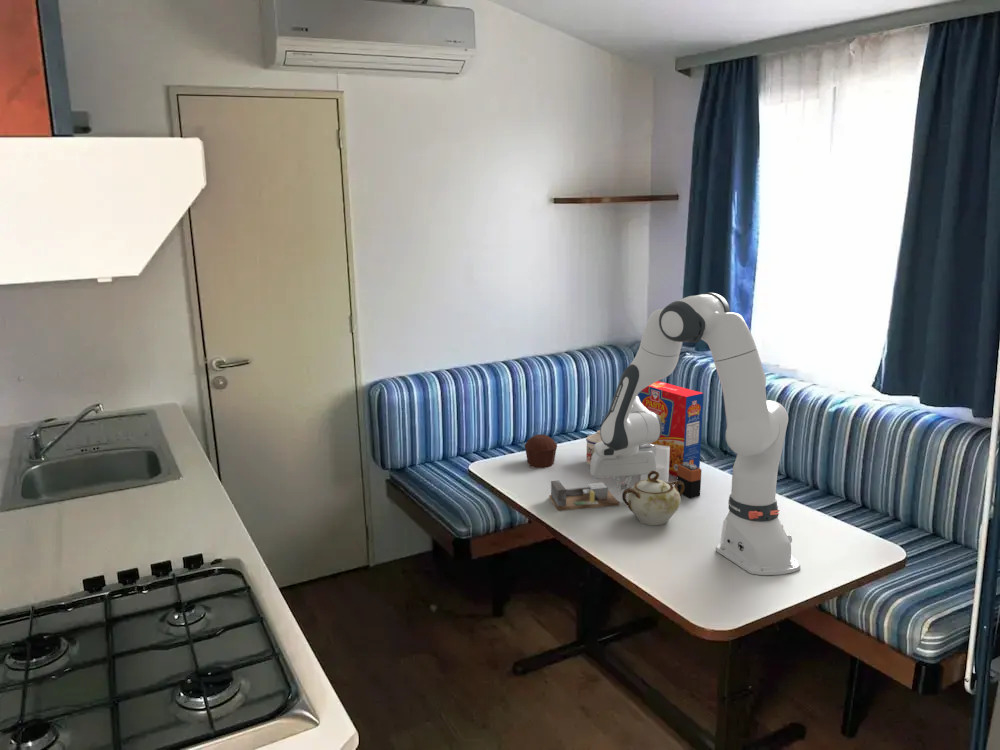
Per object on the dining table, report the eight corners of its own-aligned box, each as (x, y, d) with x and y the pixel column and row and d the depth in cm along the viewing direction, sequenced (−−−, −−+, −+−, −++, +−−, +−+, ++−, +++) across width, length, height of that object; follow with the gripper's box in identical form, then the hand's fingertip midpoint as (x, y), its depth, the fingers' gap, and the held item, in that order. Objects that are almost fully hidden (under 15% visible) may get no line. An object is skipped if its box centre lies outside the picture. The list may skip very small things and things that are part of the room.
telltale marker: (592, 499, 243) (592, 490, 242) (594, 501, 242) (594, 492, 241) (589, 500, 243) (589, 490, 242) (591, 502, 241) (591, 492, 241)
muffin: (557, 469, 274) (557, 441, 271) (524, 469, 274) (524, 441, 272) (556, 458, 285) (556, 431, 283) (524, 458, 286) (524, 430, 283)
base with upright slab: (671, 479, 265) (673, 444, 262) (663, 488, 257) (665, 452, 254) (645, 474, 269) (646, 440, 266) (636, 483, 261) (637, 448, 258)
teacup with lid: (581, 460, 283) (582, 428, 280) (605, 457, 286) (606, 425, 283) (595, 471, 272) (596, 438, 269) (620, 468, 274) (621, 435, 272)
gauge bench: (608, 493, 253) (608, 475, 251) (618, 505, 243) (619, 486, 242) (549, 498, 249) (549, 479, 248) (557, 510, 240) (558, 491, 238)
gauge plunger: (602, 493, 249) (603, 482, 248) (610, 502, 243) (610, 491, 242) (580, 495, 248) (581, 484, 247) (587, 504, 241) (588, 492, 240)
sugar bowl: (633, 534, 223) (635, 483, 220) (610, 514, 237) (611, 465, 233) (696, 525, 229) (699, 475, 225) (670, 505, 243) (672, 458, 239)
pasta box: (623, 456, 287) (625, 380, 280) (639, 452, 291) (642, 376, 285) (682, 479, 264) (686, 396, 258) (699, 474, 269) (703, 393, 262)
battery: (689, 499, 248) (690, 468, 245) (675, 491, 254) (677, 461, 251) (700, 496, 249) (702, 466, 247) (686, 489, 255) (688, 459, 253)
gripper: (652, 440, 250) (650, 482, 253) (589, 444, 246) (588, 487, 249) (660, 446, 244) (658, 489, 247) (595, 451, 240) (594, 495, 243)
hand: (622, 488), depth 248 cm, fingers closed
